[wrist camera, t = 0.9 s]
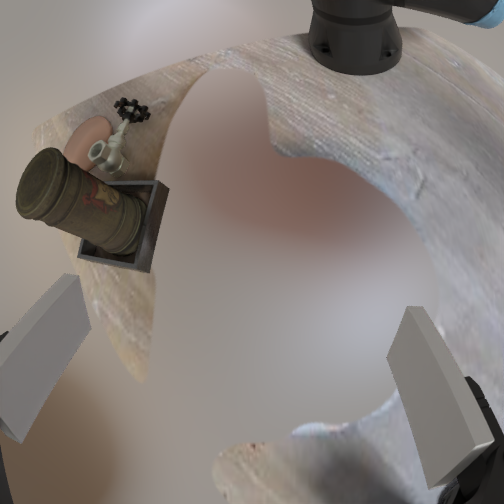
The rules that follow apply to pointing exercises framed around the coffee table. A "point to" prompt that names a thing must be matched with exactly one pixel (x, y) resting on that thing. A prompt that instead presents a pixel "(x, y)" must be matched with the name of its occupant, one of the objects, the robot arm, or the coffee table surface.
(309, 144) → the coffee table surface
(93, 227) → the container
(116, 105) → the valve
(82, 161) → the peach soap bar
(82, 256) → the collar
